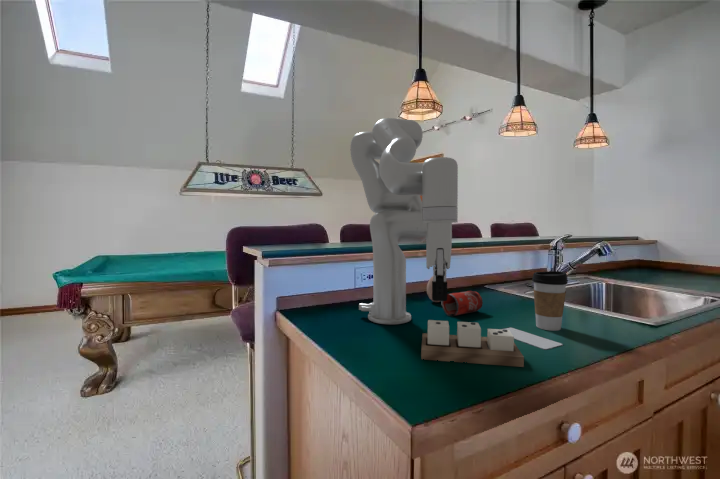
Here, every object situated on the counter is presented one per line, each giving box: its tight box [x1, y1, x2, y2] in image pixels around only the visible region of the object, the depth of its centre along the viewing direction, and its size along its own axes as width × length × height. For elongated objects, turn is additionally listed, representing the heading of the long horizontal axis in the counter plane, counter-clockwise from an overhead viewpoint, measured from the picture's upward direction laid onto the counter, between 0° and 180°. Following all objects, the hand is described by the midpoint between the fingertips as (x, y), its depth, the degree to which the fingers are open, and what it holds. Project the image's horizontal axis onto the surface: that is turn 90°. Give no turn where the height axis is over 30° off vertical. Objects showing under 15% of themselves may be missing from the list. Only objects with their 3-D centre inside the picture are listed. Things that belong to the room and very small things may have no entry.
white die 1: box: [427, 319, 450, 345], centre depth 78 cm, size 4×4×4 cm
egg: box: [426, 275, 441, 303], centre depth 124 cm, size 7×7×10 cm
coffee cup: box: [532, 270, 569, 332], centre depth 95 cm, size 8×8×15 cm
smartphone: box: [501, 327, 564, 351], centre depth 87 cm, size 7×1×15 cm
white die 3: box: [486, 328, 515, 351], centre depth 76 cm, size 4×4×4 cm
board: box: [420, 332, 525, 368], centre depth 77 cm, size 20×11×2 cm, turn 79°
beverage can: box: [440, 290, 484, 317], centre depth 110 cm, size 7×12×7 cm, turn 119°
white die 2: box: [456, 321, 482, 348], centre depth 77 cm, size 4×4×4 cm
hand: (439, 299), depth 78 cm, fingers closed
